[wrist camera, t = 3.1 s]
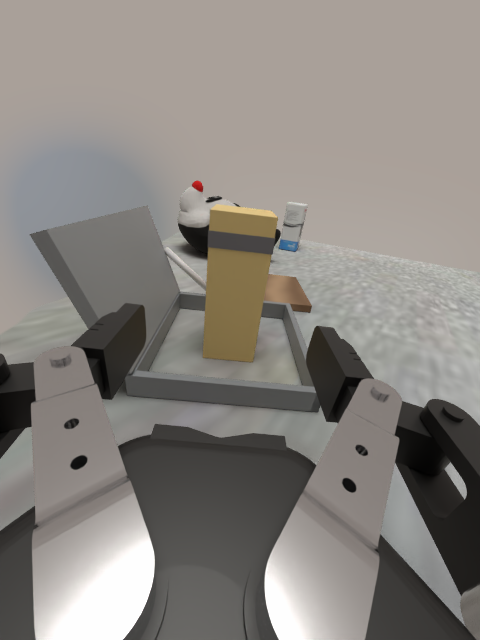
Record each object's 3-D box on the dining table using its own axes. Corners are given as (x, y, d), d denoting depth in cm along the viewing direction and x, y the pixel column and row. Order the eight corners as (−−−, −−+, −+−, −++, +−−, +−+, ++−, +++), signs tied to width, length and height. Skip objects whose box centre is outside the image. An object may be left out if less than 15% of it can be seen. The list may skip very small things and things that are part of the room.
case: (285, 314, 34) (306, 224, 28) (317, 412, 19) (373, 267, 14) (147, 299, 33) (140, 203, 27) (74, 390, 18) (27, 227, 13)
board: (294, 282, 46) (295, 277, 45) (310, 312, 35) (311, 306, 35) (218, 273, 45) (218, 268, 44) (211, 301, 34) (211, 295, 34)
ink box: (295, 252, 68) (306, 205, 62) (278, 248, 69) (286, 202, 63) (299, 246, 75) (308, 204, 69) (283, 243, 76) (291, 201, 70)
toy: (168, 184, 57) (255, 168, 59) (188, 257, 66) (263, 241, 68) (165, 188, 43) (279, 166, 45) (191, 279, 52) (284, 258, 54)
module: (251, 335, 28) (271, 210, 22) (253, 362, 24) (278, 217, 17) (208, 330, 28) (215, 204, 22) (202, 357, 24) (209, 209, 17)
